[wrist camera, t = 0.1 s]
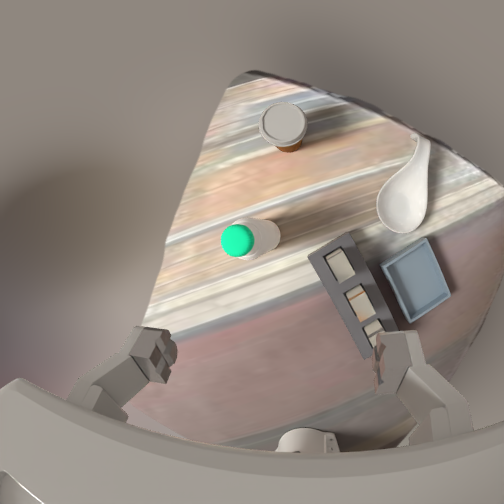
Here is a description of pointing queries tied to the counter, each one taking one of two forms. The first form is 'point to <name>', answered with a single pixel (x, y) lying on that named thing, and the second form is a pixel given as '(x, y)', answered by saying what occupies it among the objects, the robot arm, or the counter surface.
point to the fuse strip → (339, 289)
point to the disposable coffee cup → (283, 126)
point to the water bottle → (250, 238)
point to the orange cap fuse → (360, 303)
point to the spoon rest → (406, 192)
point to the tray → (416, 279)
